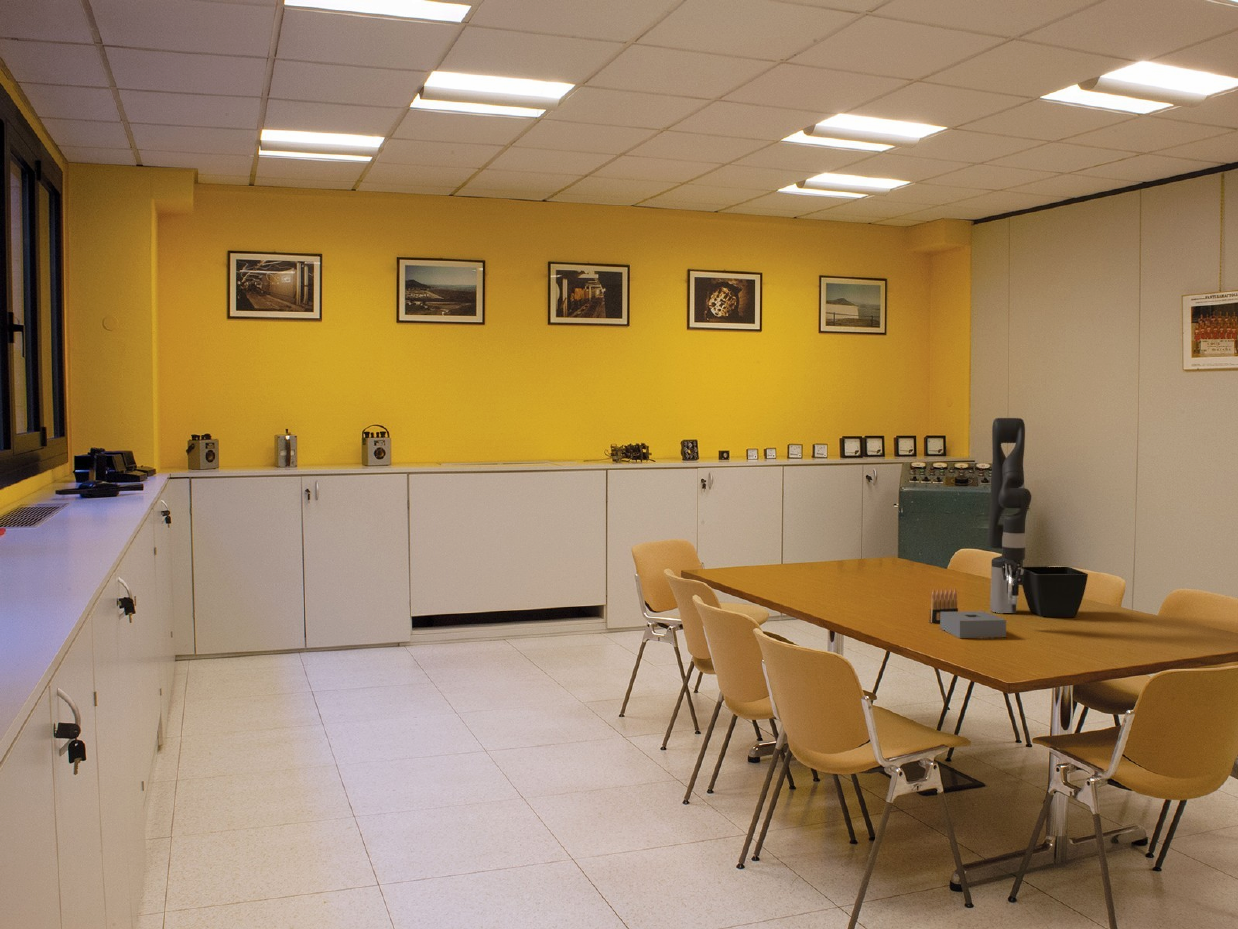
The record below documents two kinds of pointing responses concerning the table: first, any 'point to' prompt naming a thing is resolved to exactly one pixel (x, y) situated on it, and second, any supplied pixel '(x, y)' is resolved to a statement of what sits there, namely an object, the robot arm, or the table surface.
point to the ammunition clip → (942, 604)
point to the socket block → (973, 624)
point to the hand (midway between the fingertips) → (1012, 594)
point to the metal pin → (1011, 598)
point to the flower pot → (1054, 590)
